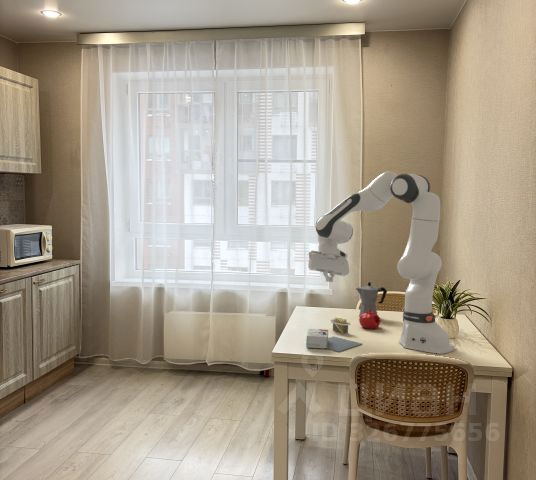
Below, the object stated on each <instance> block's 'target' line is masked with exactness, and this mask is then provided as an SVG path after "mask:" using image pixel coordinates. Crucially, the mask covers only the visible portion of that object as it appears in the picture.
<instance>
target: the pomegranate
mask: <svg viewBox="0 0 536 480" xmlns="http://www.w3.org/2000/svg"><path fill="white" fill-rule="evenodd" d="M365 312H366V311H365ZM365 312H364V314H362V315H361V316H360V317H359V318H358V321H359V325H360V326H361V327H362V328H363V329H367V330H376V329H378V328H379V327H380V325H381V320H382V319H381V317H380V316H379V314H378V311H377V312H376V313H377V314H375V312H371V308H369V313H368V312H367V313H365Z"/></svg>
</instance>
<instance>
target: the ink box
mask: <svg viewBox="0 0 536 480" xmlns="http://www.w3.org/2000/svg"><path fill="white" fill-rule="evenodd" d="M328 338H329V329H325V328H324V329H321V328H317V329H316V328H308V329H307V334H306V339H305V340H306V345H305V347H306V348H313V349H325V348H327V344H328Z"/></svg>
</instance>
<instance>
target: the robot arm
mask: <svg viewBox="0 0 536 480" xmlns="http://www.w3.org/2000/svg"><path fill="white" fill-rule="evenodd" d="M393 197H395V198H396V199H398V200H400V201H402V202H404V203H406V204H411V205H412V216H411V222H410V231H409V237H408V239H407V243H406V246H405V249H404V252H403V254H402V256H401V258H400V259H399V260H398V262H397V267H396V268H397V272H398V274H399V276H401V277H402V278H403V279H406V280H409V284H408V286H407V288H406V290H405V295H404V309H403V312H402V313H403V314H402V321H403V325H402V330H401V335H400V339H399V341H398V342H399V345H402V348H404V349H407V350H413V351H414V350H415V351H419V352H425V353H430V354H436V353H437V355H442V354H448V353H450V352H454V350H455V349H456V346H455V344H451V343H450V337H449V334H448V332H447V331H446V330H445V329H444V328H443V327H442V326H441V325H440V324H438V322H437V321H436V318H437V317H438V314H434V313H433V296H434V295H433V294H434V289H435V285H436V281H437V278H438V274H439V272H440V271H441V269H442V266H443V262H442V259H441V257H440V255H439V254H437V253H436V252H433V251H432V250H433V248H434V246H435V244H436V242H437V240H438V239H439V237H438V236H439V228H440V221H441V199H440V197H439V195H438V194H436V193H434V192H431V184H430V181H429V180H428V178H426V177H425V176H423V175H420V174H415V173H400V174H397V173H396V172H393V170H387V171H384V172H382V173H381V174H379V175H378V176H377V177H376V178H375V179H373V180H372V181H371V182H370V183H369V184H368V185H367V186H366V187H364V189H362V190H360V191H358V192H356V193H352V194H350V195H348V196H347V197H346V198H344V199H343V200H342V201H341V202H339V203H338V204H337V205H336V206H334V207H333V208H332V209H331V210H330V211H328V212H326V213H325V214H323V215H321V216H320V217H319V218H318V219H317V220H316V223H315V231H316V233H317V240H318V250H313V249H312V250H309V252H308V257H309V258H308V263H307V266H308V269H309V271H313V272H314V271H315V272H320V273H322V275H323V276H324V278H325V282H328V283H333V282H334V277H335V276H341V277H346V276H348V275H349V273H350V265H349V261H348V259H347V258H348V254H347V253H346V252H344V251H342V250H340V248H338V245H341V244H345V243H348V242H349V241H350V240H351V239H352V237H353V235H354V233H353V232H354V229H353V226H352V224H351V223H349V222H346V221H344V220H342V219H344V218H345V217H346V216H347V215H349V214H350V213H352V212H359V211H360V212H361V211H365V212H376V211H378V210H380V209H382V208H384V206H385V205H386V204H387V203H388V202H389V201H390V200H392V199H393Z"/></svg>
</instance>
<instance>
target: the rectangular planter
mask: <svg viewBox="0 0 536 480" xmlns="http://www.w3.org/2000/svg"><path fill="white" fill-rule="evenodd" d="M330 323H331V324H332V331H334V332H340V333H342V334H344V333H345V334H348V333H349V326H350V325H352V323H351V322H347V319H345V318H340V317H335V318H333V319H331V320H330Z"/></svg>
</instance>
